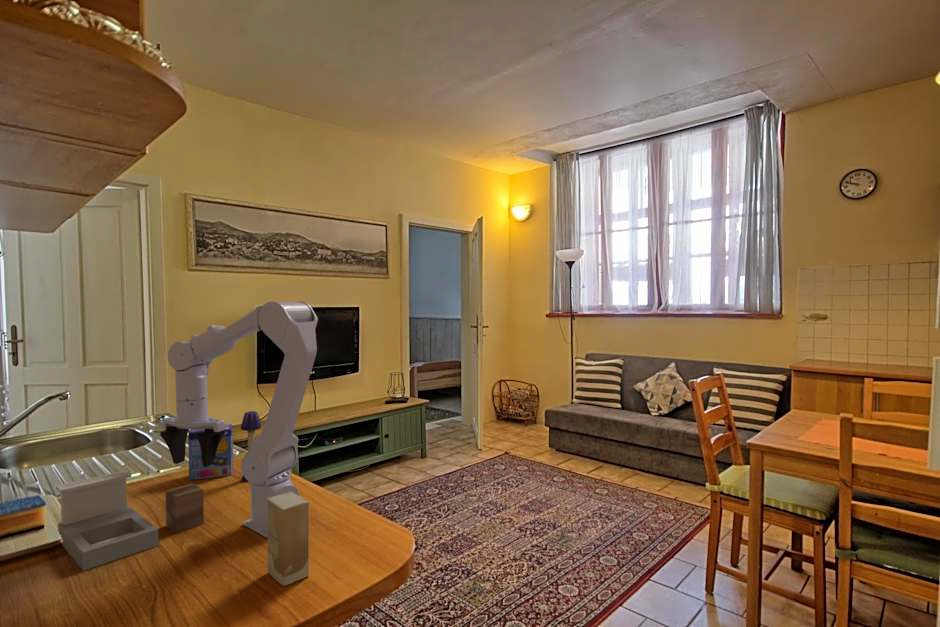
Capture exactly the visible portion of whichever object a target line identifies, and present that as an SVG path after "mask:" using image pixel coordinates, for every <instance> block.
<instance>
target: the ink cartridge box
mask: <svg viewBox="0 0 940 627" xmlns="http://www.w3.org/2000/svg"><path fill="white" fill-rule="evenodd" d="M216 419H217V418H216ZM217 420H219V419H217ZM202 432H205V430H194V429H189V431H188V434H187V439H188V440H187V441H188V442H187V444H188V448H187V449H188V481H195V480H204V479H212V478H220V477H221V478H222V477H230V476H232V475H233V473H234V448H233V447H234V446H233V445H234V444H233V440H234V437H233V436H234V434H233V424H231V423H228V424H225V434H224V435H223V437H222V439H221V441H220V443H219V445H218V448H217V451H216V455H215V459H214V463H213V464H212V465H209V466H207V467H203V463H202V453H201V447H200V444H199V441H198V439H197V437H196V434H199V433H202Z"/></svg>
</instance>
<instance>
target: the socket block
mask: <svg viewBox="0 0 940 627" xmlns="http://www.w3.org/2000/svg"><path fill="white" fill-rule="evenodd" d="M130 478H132V473H130V472H129V471H127V470H122V471H121V470H120V471H117V472H113V473H108V474H104V475H100V476H95V477H90V478H87V479H81V480H77V481H73V482H68V483H64V484H60V485H59V484H58V485H56V486H55V487H56V491H58V493H60V518H61V521H60V522H61V523H58V524H57V533H58V532H59V534H60V535H61V537H62V539H63V545H62V547H63V548H64V547H65V548H64V549H65V550H66V551H67V553H68V554H69V555H70V557H71V558H73V560H74V561H75V562H76V563H77V565H78V566H79V567H80V569H82V571H88V570H91V569H93V568H96V567H99V566H102V565H105V564H107V563H110V562H114V561H117V560H120V559H123V558H126V557H129V556H131V555H134V554H137V553H141V552H144V551H146V550H147V551H148V550H149V549H153V548H155V547H158V546H159V545H160V544H159V528H157V527H156V526H155V525H153V523H152V522H150V521H148V520H147V519H146V518H145V517H143V516H142V515H141V514H139V513H138V512H137V511H135V510H134V509H133V508H132V507H130V506H129V505H127V504H128V502H127V500H128V499H127V498H128V496H127V479H130Z"/></svg>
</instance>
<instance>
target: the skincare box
mask: <svg viewBox="0 0 940 627" xmlns="http://www.w3.org/2000/svg"><path fill="white" fill-rule="evenodd" d="M267 504H268V537H267V572H268V574H269V575H270V576H271V577H272V578H273V579H274V580H275V581H276V582H278V584H280V585H281V586H282V585H283V586H285V585H287V584H290V583H292V584H294V583H293V582H295V581H297V580H299V581H301V580H300V579H302V578H304V577H306V576H308V575H309V576H310V570H309V568H310V563H309V562H310V558H309V557H310V555H309V554H310V551H309V549H310V545H309V544H310V543H309V541H310V540H309V539H310V536H309V535H310V533H309V530H310V527H309V526H310V522H309V521H310V519H309V517H310V516H309V514H310V513H309V511H310V508H309V507H310V506H309V505H310V504H309V501H308V500H306V499H304V498H303V497H302V496H298V495H296V494H295V493H293V492H288V493H285V494H281V495H278V496H274V497H271V498H268V499H267ZM304 579H305V578H304ZM302 580H303V579H302ZM297 582H298V581H297ZM295 583H296V582H295ZM290 585H291V584H290ZM283 586H282V587H283ZM287 586H288V585H287ZM285 587H286V586H285Z"/></svg>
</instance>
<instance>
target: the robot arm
mask: <svg viewBox="0 0 940 627" xmlns="http://www.w3.org/2000/svg"><path fill="white" fill-rule="evenodd" d="M318 322H319V318H318V316H317V314H316V313H315V311H314V310H313V307H312V306H311V305H310V304H309V303H307V302H306V301H305V302H304V301H295V302H294V301H292V302H290V301H287V302H286V301H282V302H281V301H268V302H266V303H264V304H263V305H258V306H256V307H255V308H254V309H253V310H252V311H251V312H249V313H247V314H245V315H243V317H240V318H239V319H237V320H236V321H234V322H232V323H230V324H229V325H227V326H224V325H217V324H211V325H209V326H207V327H206V329H207V330H205V331H204V332H201V333H200V334H194V335H192V336H191V337H190V339H189V340H188V341H175V342H174V343H173V344H172V345H171V346H170V347H169V349H168V352H167V360H168V364H169V365H170V367H171V368H172V369H173V370H175V372H174V373H175V405H176V406H175V408H176V414H175V415H176V417H173V416H172V417H171V416H170V417H169V416H168V417H164V418H161V420H160V421H161V429H164V431H160V433H159V434H160V435H159V436H160V437H161V438H162V439H163V441H164V442H165V444H166V446H167V448H168V450H169V452H170V455H171V458H172V462H173V464H174V465H177V464H181V463H182V462H185V459H186V447H187V446H186V445H187V444H186V443H187V439H188V433H189V430H190V429H194V430H205V432H202V433H199V434H196V437H197V439H198V441H199V444H200V447H201V453H202V463H203V467H207V466H209V465H212V464H213V463H214V459H215V455H216V451H217V448H218V445H219V443H220V441H221V439H222V437H223V435H224V434H225V425H226V424H225V420H220V419H218V420H217V418H212V417H211V415H209V409H208V408H209V406H208V376H207V375H209V373H210V365H211V363H213V360H215V359H217V358H219V357H221V356H223V355H225V354H227V353H228V352H231V351H233V349H234V348H235V346H236V342H238V341H240V340H242V339H245V338H246V337H248V336H251V335H253V334H255V333H257V332H258V333H259V332H260V331H262V332H263V333H264V334H265V335H266V336H267V337H268V338H269V339H270V340H271V341H272V343H274V345H275V346H277V347H278V348H279V349H280V350H281V351H282V353H283V354H284V357H283V361H282V364H281V367H280V372H279V375H278V379H277V381H276V384H275V385H276V386H275V387H274V388H275V389H274V392H273V396H272V399H271V402H270V405H269V409H268V412H267V417H266V419H265V423H264V426H263V429H262V431H261V432H260V433H259V434H258V435H257V436H256V437H255V440H254V441H253V442H252V443H251V447H250V449H249V451H248V450H247V453H245V454H244V455H243V457H242V460H241V462H240V469H241V473H242V476H243V475H244V477H245V478H246V479H247V480H248V481H247V483H248V485H250V497H251V498H250V499H251V500H250V503H251V506H250V507H251V508H250V512H251V518H250V519H247V520H244V521H242V525H243V526H245V527H247V528H249V529H250V530H252V531H254V532H256V533H258V534H259V535H261V536H262V537H265V538H268V504H267V499H268V498H271V497H274V496H278V495H281V494H285V493H288V492H293V493H295V494H296V495H298V496H300V492H299V490H298V488H297V487H296V486H295V485H294V484H293V483H292V480H291V475H292V474H293V469H292V468H293V467H294V466H296V464H297V461H298V458H299V457H298V456H299V454H298V445H299V441H300V440H299V438H298V437H297V436H296V435H295V434H294V430H295V427H296V424H297V421H298V417H299V413H300V410H301V406H302V403H303V400H304V396H305V394H306V390H307V388H308V387H307V386H308V384H309V380H310V376H311V373H312V370H313V368H314V367H313V366H314V365H315V364H314V363H315V360H316V356H317V352H318V346H317V337H316V336H317V334H316V328H317V324H318ZM300 497H301V496H300Z"/></svg>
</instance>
